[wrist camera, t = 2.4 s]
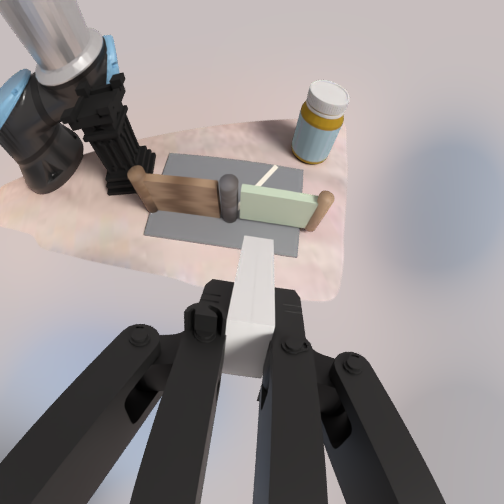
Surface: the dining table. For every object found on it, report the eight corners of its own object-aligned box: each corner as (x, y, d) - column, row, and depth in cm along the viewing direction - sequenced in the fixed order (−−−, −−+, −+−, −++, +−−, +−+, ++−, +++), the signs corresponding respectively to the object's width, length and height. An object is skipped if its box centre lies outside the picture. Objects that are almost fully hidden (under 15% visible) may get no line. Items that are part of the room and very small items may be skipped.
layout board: (144, 235, 42) (143, 234, 41) (170, 154, 47) (169, 152, 46) (296, 257, 42) (297, 256, 42) (302, 171, 47) (303, 169, 47)
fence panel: (239, 220, 42) (240, 190, 33) (241, 208, 43) (242, 176, 34) (315, 232, 42) (334, 205, 34) (316, 220, 43) (334, 192, 34)
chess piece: (109, 195, 44) (56, 121, 25) (117, 159, 46) (77, 82, 27) (150, 192, 44) (109, 108, 25) (156, 155, 47) (126, 70, 28)
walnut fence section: (145, 212, 43) (124, 179, 33) (149, 199, 43) (130, 164, 34) (236, 224, 43) (236, 191, 33) (238, 210, 44) (239, 175, 34)
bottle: (303, 170, 47) (325, 110, 33) (284, 142, 49) (298, 81, 35) (333, 160, 49) (361, 103, 34) (314, 134, 50) (334, 76, 36)
